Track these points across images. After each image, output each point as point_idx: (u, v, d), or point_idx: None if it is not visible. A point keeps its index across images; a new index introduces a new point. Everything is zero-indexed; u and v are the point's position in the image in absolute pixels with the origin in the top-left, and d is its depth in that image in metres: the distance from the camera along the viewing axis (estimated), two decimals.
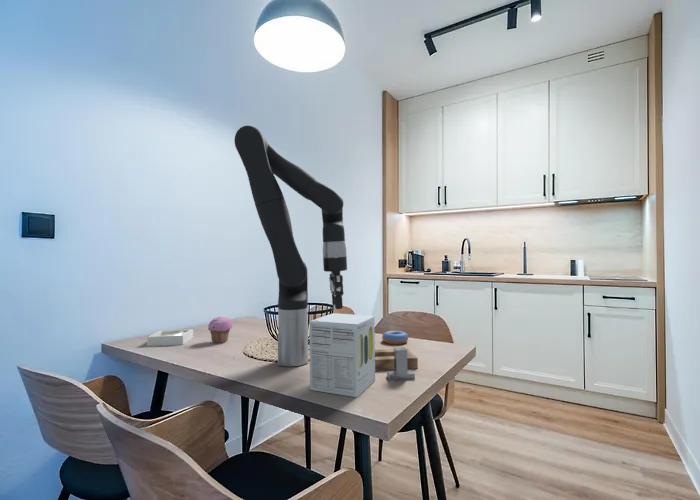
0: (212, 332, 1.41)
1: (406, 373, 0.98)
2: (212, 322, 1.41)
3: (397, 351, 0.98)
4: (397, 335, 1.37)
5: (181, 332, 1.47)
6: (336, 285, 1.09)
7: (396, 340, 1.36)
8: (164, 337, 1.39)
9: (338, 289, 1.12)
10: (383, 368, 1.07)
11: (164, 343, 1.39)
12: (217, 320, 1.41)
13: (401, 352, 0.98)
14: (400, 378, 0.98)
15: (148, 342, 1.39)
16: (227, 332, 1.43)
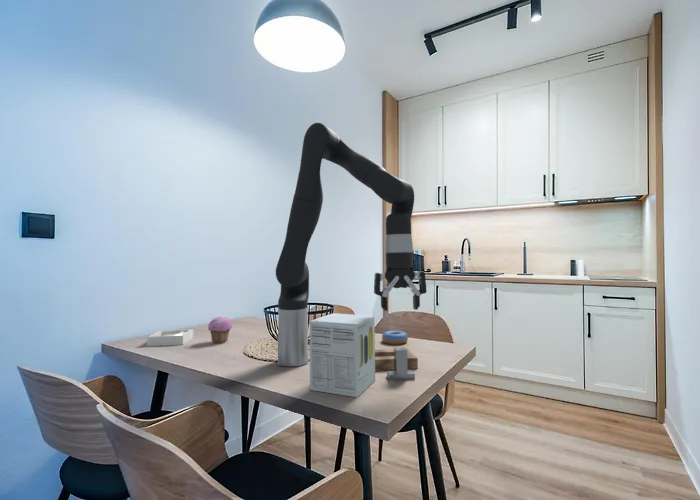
0: (212, 332, 1.41)
1: (406, 373, 0.98)
2: (212, 322, 1.41)
3: (397, 351, 0.98)
4: (397, 335, 1.37)
5: (182, 332, 1.47)
6: None
7: (396, 340, 1.36)
8: (164, 337, 1.39)
9: None
10: (383, 368, 1.07)
11: (164, 343, 1.39)
12: (217, 320, 1.41)
13: (401, 352, 0.98)
14: (400, 378, 0.98)
15: (148, 342, 1.39)
16: (227, 332, 1.43)
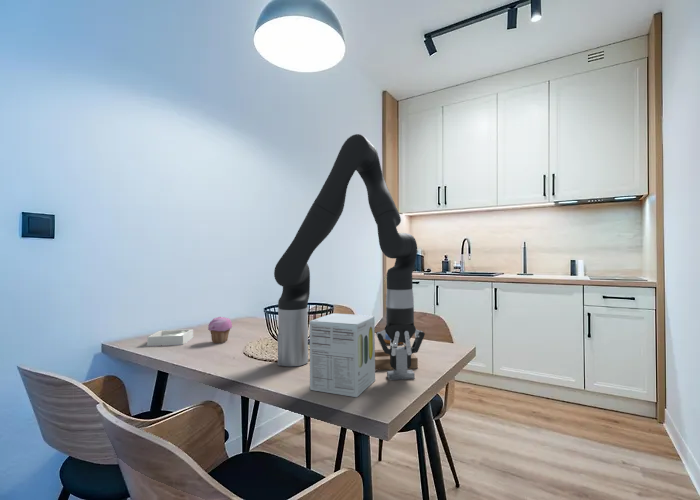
0: (212, 332, 1.41)
1: (406, 373, 0.98)
2: (212, 322, 1.41)
3: (397, 351, 0.98)
4: None
5: (183, 332, 1.47)
6: None
7: None
8: (164, 337, 1.39)
9: None
10: (383, 368, 1.07)
11: (164, 343, 1.39)
12: (217, 320, 1.41)
13: (401, 352, 0.98)
14: (400, 378, 0.98)
15: (148, 342, 1.39)
16: (227, 332, 1.43)
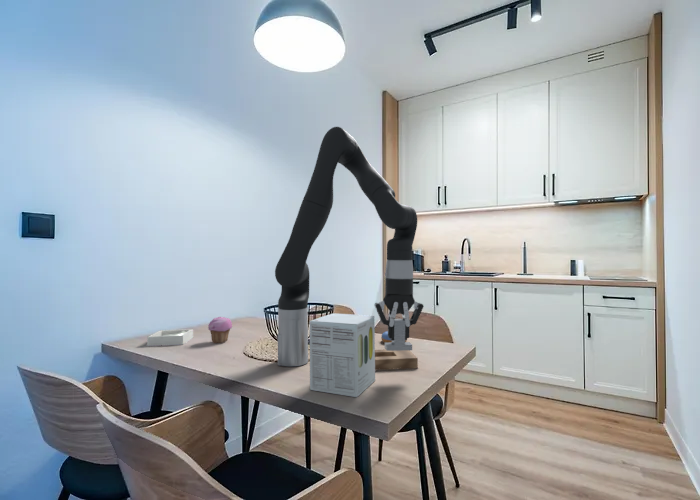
0: (212, 332, 1.41)
1: (403, 344, 0.98)
2: (212, 322, 1.41)
3: (395, 322, 0.98)
4: None
5: (183, 332, 1.47)
6: None
7: None
8: (164, 337, 1.39)
9: None
10: (383, 368, 1.07)
11: (164, 343, 1.39)
12: (217, 320, 1.41)
13: (399, 323, 0.98)
14: (397, 349, 0.98)
15: (148, 342, 1.39)
16: (227, 332, 1.43)
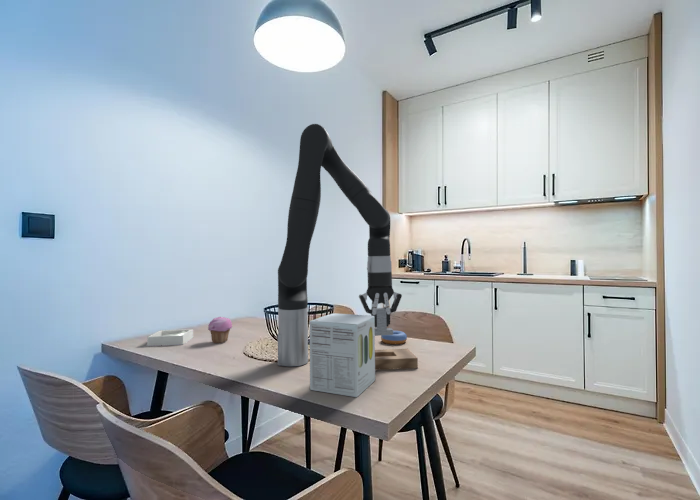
0: (212, 332, 1.41)
1: (385, 330, 1.11)
2: (212, 322, 1.41)
3: (377, 310, 1.11)
4: (396, 335, 1.37)
5: (183, 332, 1.47)
6: None
7: (395, 340, 1.36)
8: (164, 337, 1.39)
9: None
10: (383, 368, 1.07)
11: (164, 343, 1.39)
12: (217, 320, 1.41)
13: (381, 311, 1.11)
14: (380, 334, 1.11)
15: (148, 342, 1.39)
16: (227, 332, 1.43)
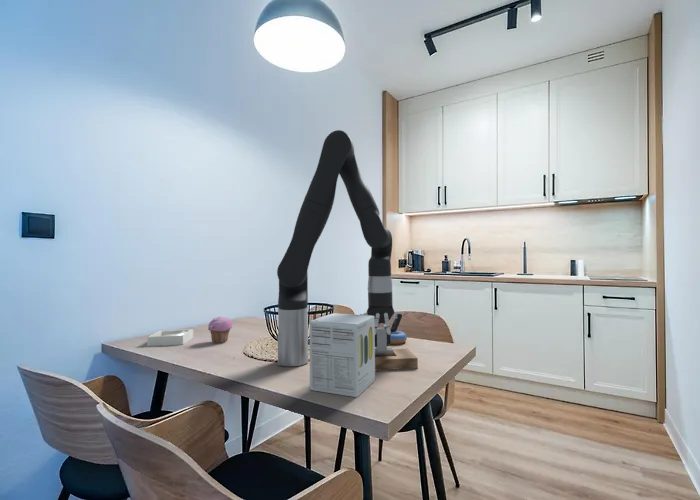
0: (212, 332, 1.41)
1: (385, 350, 1.11)
2: (212, 322, 1.41)
3: (377, 330, 1.11)
4: (396, 335, 1.37)
5: (183, 332, 1.47)
6: None
7: (395, 340, 1.36)
8: (164, 337, 1.39)
9: None
10: (383, 368, 1.07)
11: (164, 343, 1.39)
12: (217, 320, 1.41)
13: (381, 331, 1.11)
14: (380, 354, 1.11)
15: (148, 342, 1.39)
16: (227, 332, 1.43)
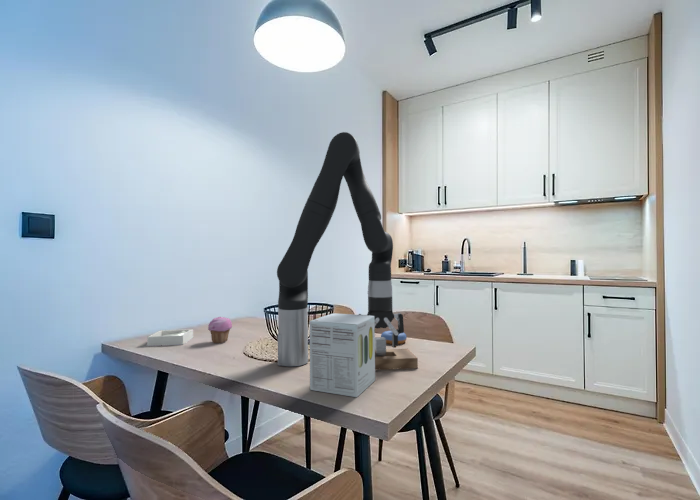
0: (212, 332, 1.41)
1: None
2: (212, 322, 1.41)
3: (377, 340, 1.11)
4: None
5: (183, 332, 1.47)
6: None
7: None
8: (164, 337, 1.39)
9: None
10: (383, 368, 1.07)
11: (164, 343, 1.39)
12: (217, 320, 1.41)
13: (380, 341, 1.11)
14: None
15: (148, 342, 1.39)
16: (227, 332, 1.43)
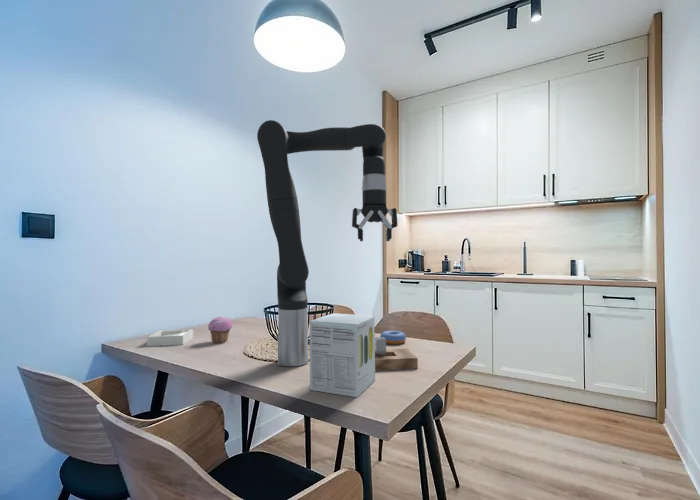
0: (212, 332, 1.41)
1: None
2: (212, 322, 1.41)
3: (377, 340, 1.11)
4: (395, 335, 1.37)
5: (184, 332, 1.48)
6: None
7: (394, 340, 1.36)
8: (164, 337, 1.39)
9: None
10: (383, 368, 1.07)
11: (164, 343, 1.39)
12: (217, 320, 1.41)
13: (380, 341, 1.11)
14: None
15: (148, 342, 1.39)
16: (227, 332, 1.43)
